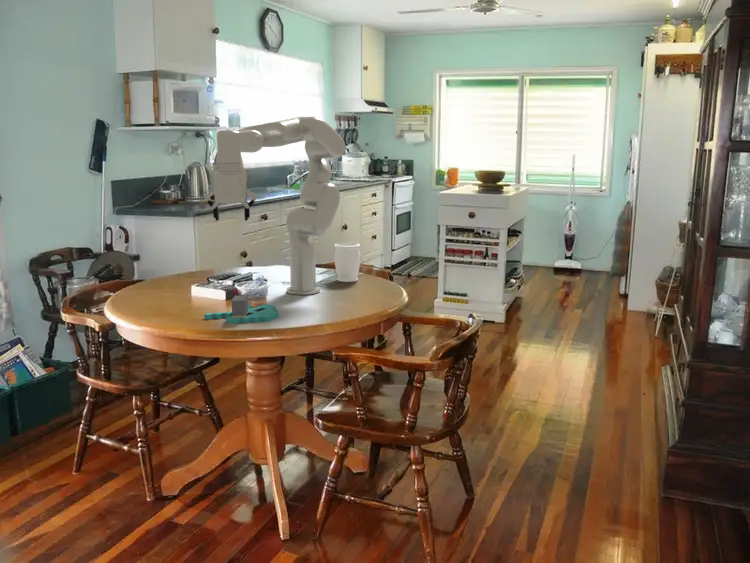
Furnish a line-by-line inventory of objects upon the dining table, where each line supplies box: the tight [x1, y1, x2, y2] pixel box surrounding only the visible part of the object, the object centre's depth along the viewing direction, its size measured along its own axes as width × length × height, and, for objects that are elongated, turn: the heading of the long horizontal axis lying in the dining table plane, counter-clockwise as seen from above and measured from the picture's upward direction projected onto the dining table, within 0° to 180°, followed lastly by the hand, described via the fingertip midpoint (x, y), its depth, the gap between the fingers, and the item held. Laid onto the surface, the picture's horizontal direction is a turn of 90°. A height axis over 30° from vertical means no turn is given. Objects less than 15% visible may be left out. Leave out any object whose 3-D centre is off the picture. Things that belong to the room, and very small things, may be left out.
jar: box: [333, 242, 361, 283], centre depth 278 cm, size 11×10×15 cm
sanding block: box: [231, 295, 249, 317], centre depth 219 cm, size 7×4×6 cm, turn 2°
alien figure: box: [203, 301, 280, 325], centre depth 224 cm, size 20×2×20 cm
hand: (231, 220), depth 228 cm, fingers open, 9 cm apart
